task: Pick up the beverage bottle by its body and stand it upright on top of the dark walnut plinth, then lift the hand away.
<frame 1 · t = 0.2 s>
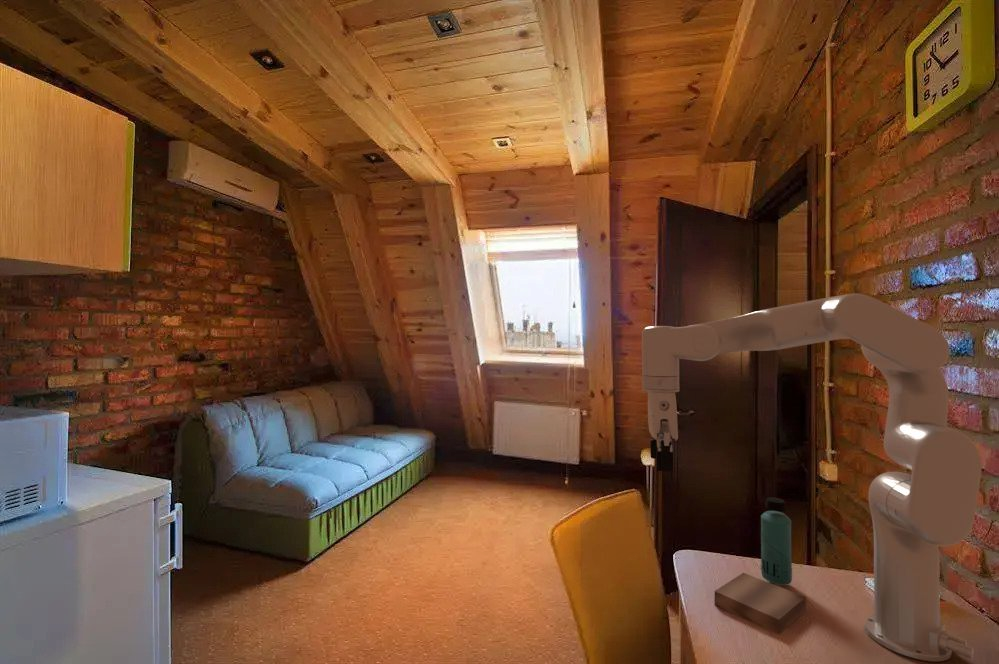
hand: (661, 464, 101), 31 cm above the table, tool pointing down, fingers open, 9 cm apart
beverage bottle: (776, 585, 111), on the table
walnut plinth: (759, 608, 101), on the table
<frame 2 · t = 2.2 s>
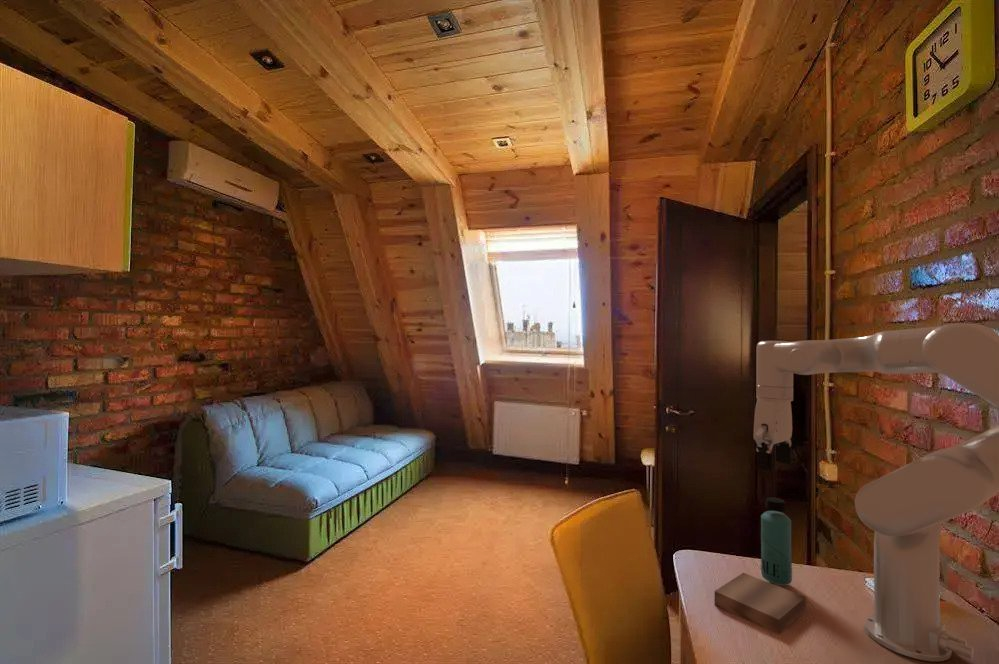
hand: (774, 466, 111), 28 cm above the table, tool pointing down, fingers open, 9 cm apart
nothing on the table moved.
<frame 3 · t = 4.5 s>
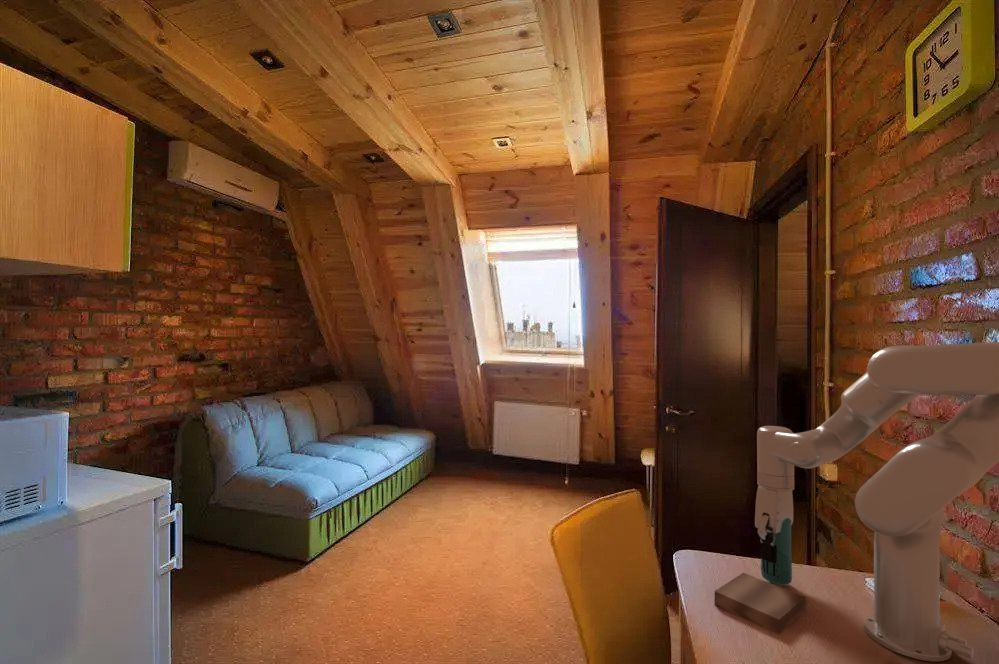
hand: (775, 555, 111), 7 cm above the table, tool pointing down, fingers closed on beverage bottle, 6 cm apart
beverage bottle: (776, 585, 111), on the table, touching gripper
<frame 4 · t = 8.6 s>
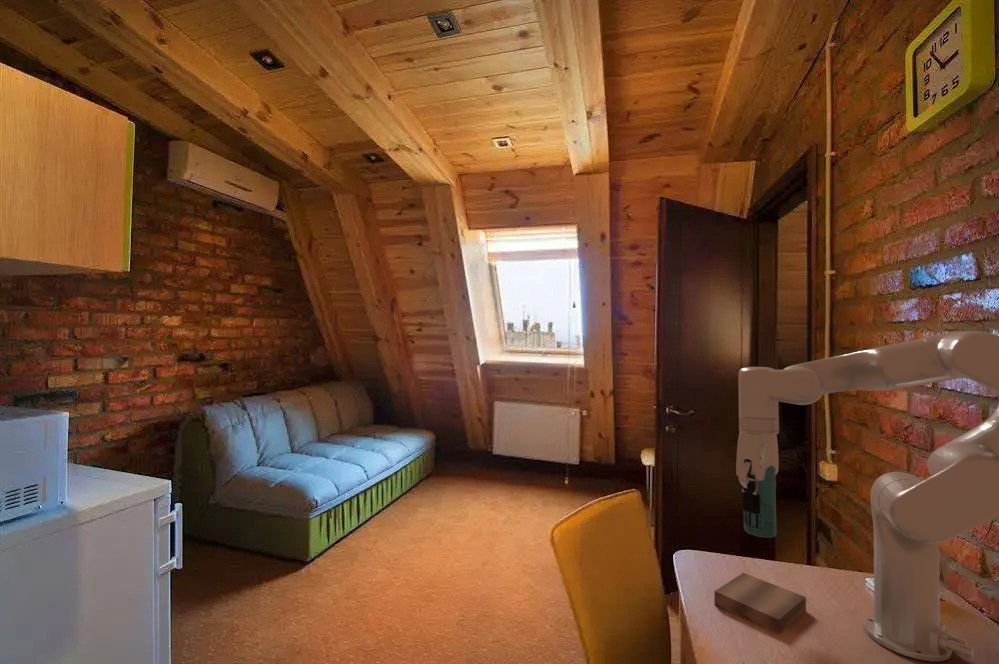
hand: (759, 507, 101), 21 cm above the table, tool pointing down, fingers closed on beverage bottle, 6 cm apart
beverage bottle: (759, 539, 101), point 15 cm above the table, touching gripper
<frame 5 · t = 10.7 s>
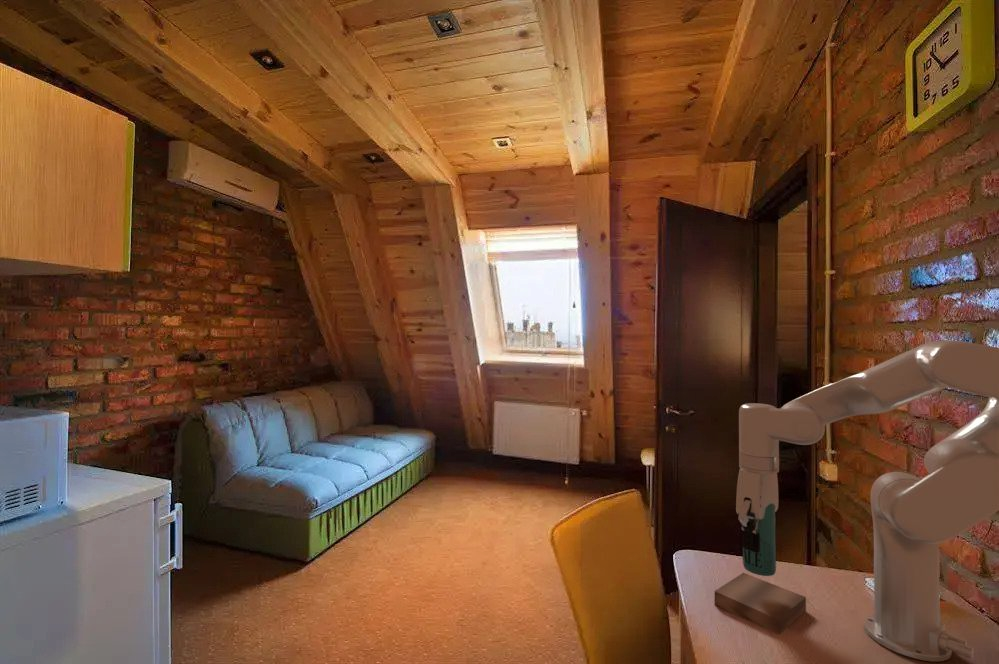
hand: (759, 544, 101), 14 cm above the table, tool pointing down, fingers closed on beverage bottle, 6 cm apart
beverage bottle: (759, 577, 101), point 7 cm above the table, touching gripper
when the fingers open (11 cm above the table, at t = 12.6 s): beverage bottle drops 1 cm, resting on walnut plinth.
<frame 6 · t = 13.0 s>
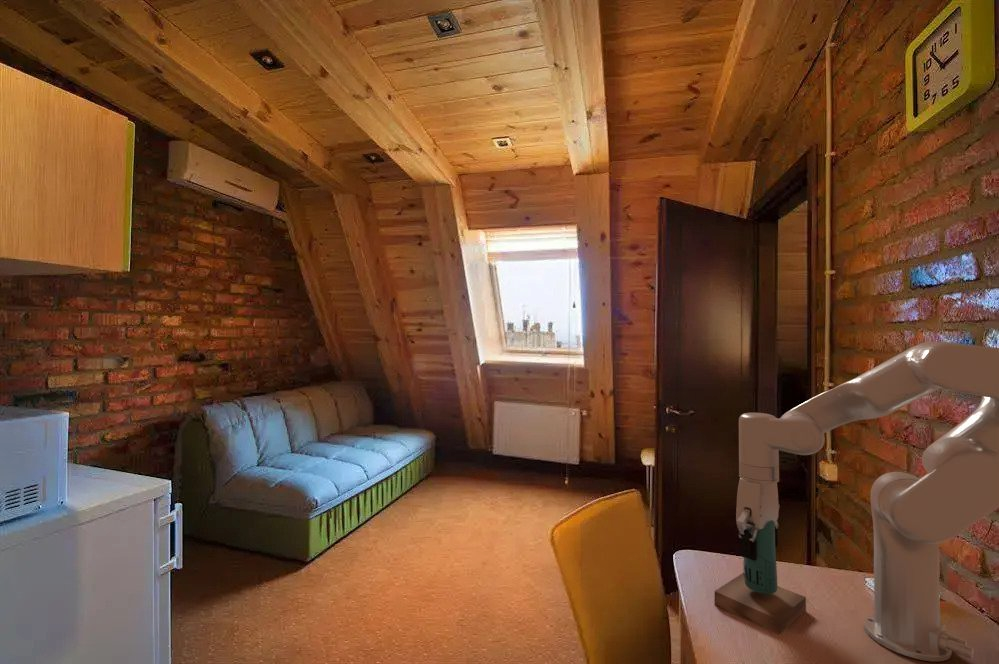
hand: (759, 551, 101), 12 cm above the table, tool pointing down, fingers open, 9 cm apart
beverage bottle: (760, 594, 101), point 3 cm above the table, touching walnut plinth
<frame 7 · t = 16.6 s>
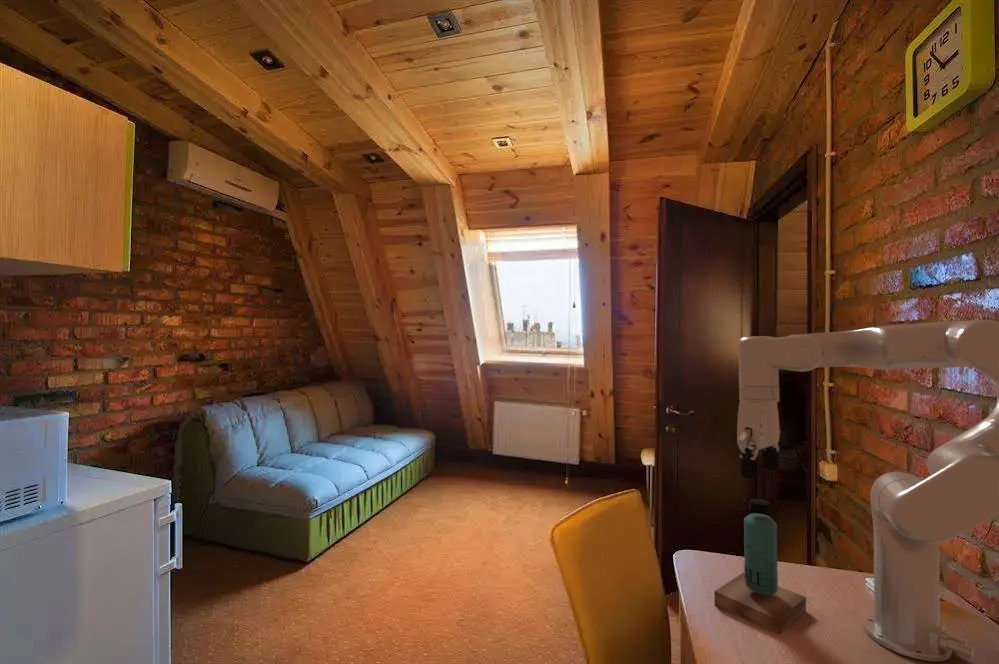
hand: (760, 473, 101), 29 cm above the table, tool pointing down, fingers open, 9 cm apart
nothing on the table moved.
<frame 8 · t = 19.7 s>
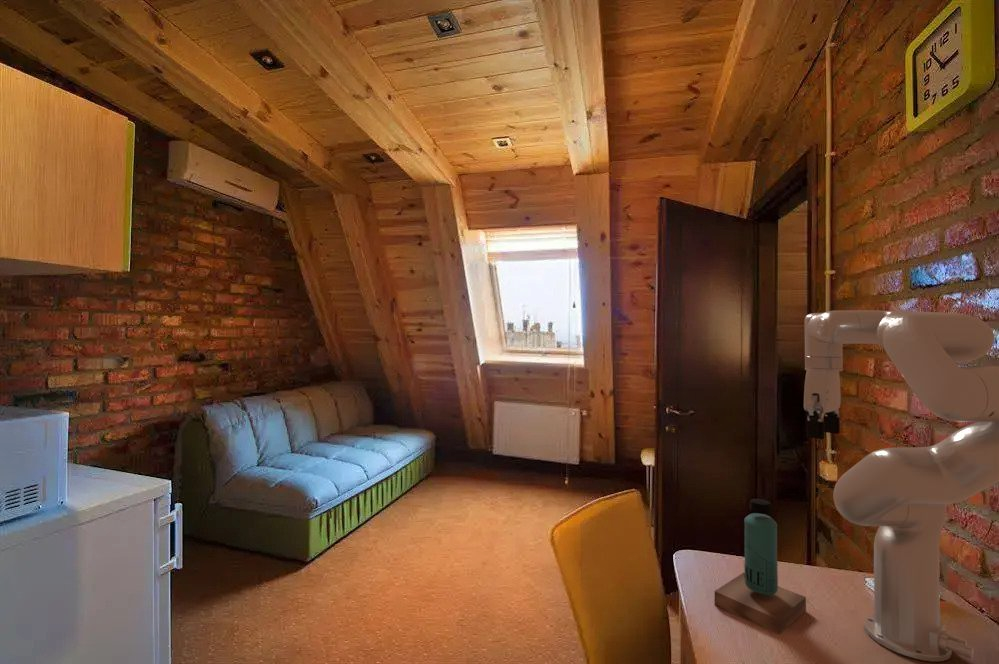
hand: (824, 435, 113), 34 cm above the table, tool pointing down, fingers open, 9 cm apart
nothing on the table moved.
at the end: beverage bottle inside the target area on the walnut plinth (0.2 cm from its centre), point 2.8 cm above the walnut plinth's base; beverage bottle tilted 0°; the gripper is holding nothing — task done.
